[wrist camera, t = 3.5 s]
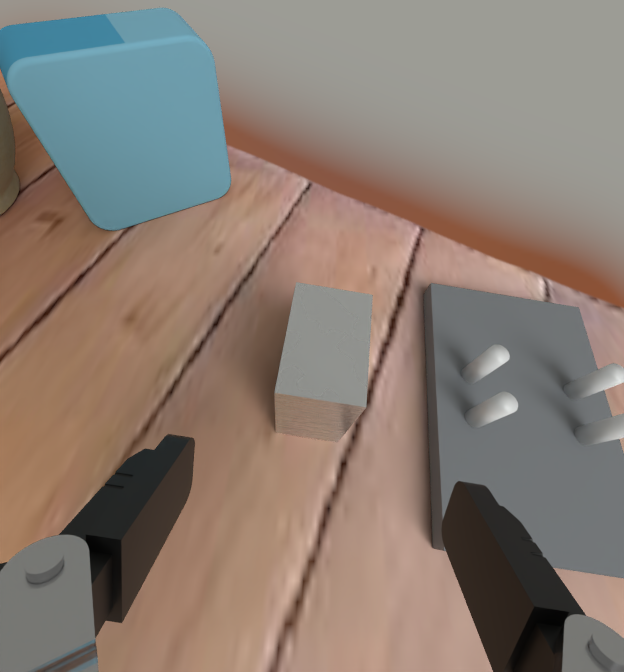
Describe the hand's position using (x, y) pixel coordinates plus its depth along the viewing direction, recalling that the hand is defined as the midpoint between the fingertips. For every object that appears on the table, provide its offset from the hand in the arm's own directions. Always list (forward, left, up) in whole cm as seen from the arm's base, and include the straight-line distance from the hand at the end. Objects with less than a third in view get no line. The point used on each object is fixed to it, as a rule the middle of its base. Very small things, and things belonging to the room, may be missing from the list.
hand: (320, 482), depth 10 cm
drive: (0, +7, -11) cm, 13 cm away
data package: (-16, +23, -11) cm, 30 cm away
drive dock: (+14, +8, -11) cm, 19 cm away
